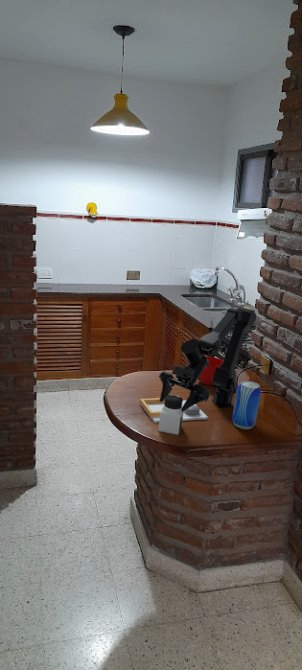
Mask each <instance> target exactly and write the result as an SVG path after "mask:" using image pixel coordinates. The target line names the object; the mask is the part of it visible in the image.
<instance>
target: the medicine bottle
mask: <svg viewBox="0 0 302 670" xmlns="http://www.w3.org/2000/svg"><path fill="white" fill-rule="evenodd" d="M183 400H184V399H183V398H182V397H181V396H179V395H177V394H168V395H167V396H166V397H165V403H164V406H163V408H162V411H161V413H160V421H159V422H158V432H162V433H167V434H172V435H179V434H180V431H181V428H182V426H183V421H182V419H183V412H184V411H183V412H182V411H181V409H182V402H183Z"/></svg>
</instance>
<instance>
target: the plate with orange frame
mask: <svg viewBox="0 0 302 670" xmlns="http://www.w3.org/2000/svg"><path fill="white" fill-rule="evenodd" d="M186 400H187V399H183V402H182V407H183V405H184V403H185V402H186ZM164 403H165V399H164V400H163V401H162V402H160V397H158V398H157V397H155V398H152V397H151V398H140V399H139V404H140V406H141V407H142V408H143V409H144V411H145V412H146V414H147V415H148V417H150V419H151V420H152V421H153V422H154V423H157V424H158V423H159V421H160V413H161V411H162V408H163V406H164ZM208 419H209V416H207V414H205V413H204V411H203V410H201V408H200V407H199V406H198V405H197V403H196V404H195V405H193V406H191V407H189V408H188V409H186V410H185V411H184V412H183V419H182V422H183V421H184V422H186V421H198V420H199V421H201V420H202V421H203V420H208Z"/></svg>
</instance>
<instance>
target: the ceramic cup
mask: <svg viewBox="0 0 302 670" xmlns="http://www.w3.org/2000/svg"><path fill="white" fill-rule="evenodd" d="M204 356H205V357H206V358H207V359H209V367H207V366H206V367H205V368H204V370H203V371H202V373H201V375H200V380H198V381H199V382H200V383H201V384H203V385H205V386H206V385H207V386H213V381H212V378H213V375H214V373H215V369H216V367H219V366H220V365H222V363H223V361H224V359H221V358H220V357H219V358H218V357H216V356H215V357H209V356H206V355H204ZM187 365H188V363H187V364H186V366H187Z"/></svg>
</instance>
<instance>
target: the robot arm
mask: <svg viewBox="0 0 302 670" xmlns="http://www.w3.org/2000/svg"><path fill="white" fill-rule="evenodd" d="M256 320H257V313H256V311H255V310H254V309H251V308H246V307H243V306H238V307H237V308H234V307H233V308H232V307H229V308H228V309H227V310H226V313H225V314H224V316H223V317H222V318H221V319H220V321H219V322H218V323H217V325H216V326H215V327H214V328H213V329H212V330H211V331H210V332H209V333H206V334H204V335H203V336H202V337H201V338H200V339H197V338H194V337H191V340H190V339H189V340H186V341H185V342H183V343H182V344H181V346H180V351H181V353H182V355H184V358H185V359H186V361H187V362H188V363H187V364H188V365H187V364H186V365H183V366H182V367H181V366H179V365H176V364H175V365H174V366H173V369H172V372H171V373H170V372H168V371H165V370H164V371H161V372H160V373H159V374H158V378H159V379H160V381H161V383H162V389H161V393H160V397H159V398H160V402H162V401H163V400H164V399H165V397H166V396H167V395H170V393H171V392H172V391H173V388H172V387H174V386H176V387H179V388H182V389H184V390H186V391H189V395H188V397H187V399H185V400H186V402H185V403H184V405H183V407H182V409H181V411H182V412H183V411H185V410H186V409H188V408H189V407H191V406H193V405H195V404H196V405H197V404H198V403H203V402H206V403H207V402H208V400H209V397H210V393H209V392H208V389H206V387H205V386H202V385H200V384H199V383H198V384H197V382H198V381H199V380H200V375H201V373H202V371H203V370H204V368H205V367H206V366H207V367H209V359H207V358H206V357H205V356H209V357H215V358H216V356H218V354H219V352H220V351H221V348H222V342H223V340H224V339H225V338H226V336H227V335H228V334H229V333H230V331H231V330H232V329H233V330H232V333H231V337H230V340H229V343H228V344H227V345H228V346H227V349H226V352H225V356H224V359H223V363H222V365H220V366H219V367H216V369H215V373H214V375H213V378H212V381H213V385H212V388H215V391H214V393H213V399H211V401H212V402H213V403H214V404H215V405H216V406H217V408H218V407H219V408H225V407H226V408H229V407H230V408H231V407H234V404H233V403H232V402H233V395H234V394H237V388H238V386H239V385H238V383H237V381H236V379H237V372H236V364H237V361H238V358H239V355H240V353H241V352H240V351H241V349H242V345H243V342H244V340H245V336H246V334H247V332H248V331H249V330H250V329H252V328H253V326H254V323H255V322H256ZM173 375H175V377H174V376H173Z"/></svg>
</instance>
